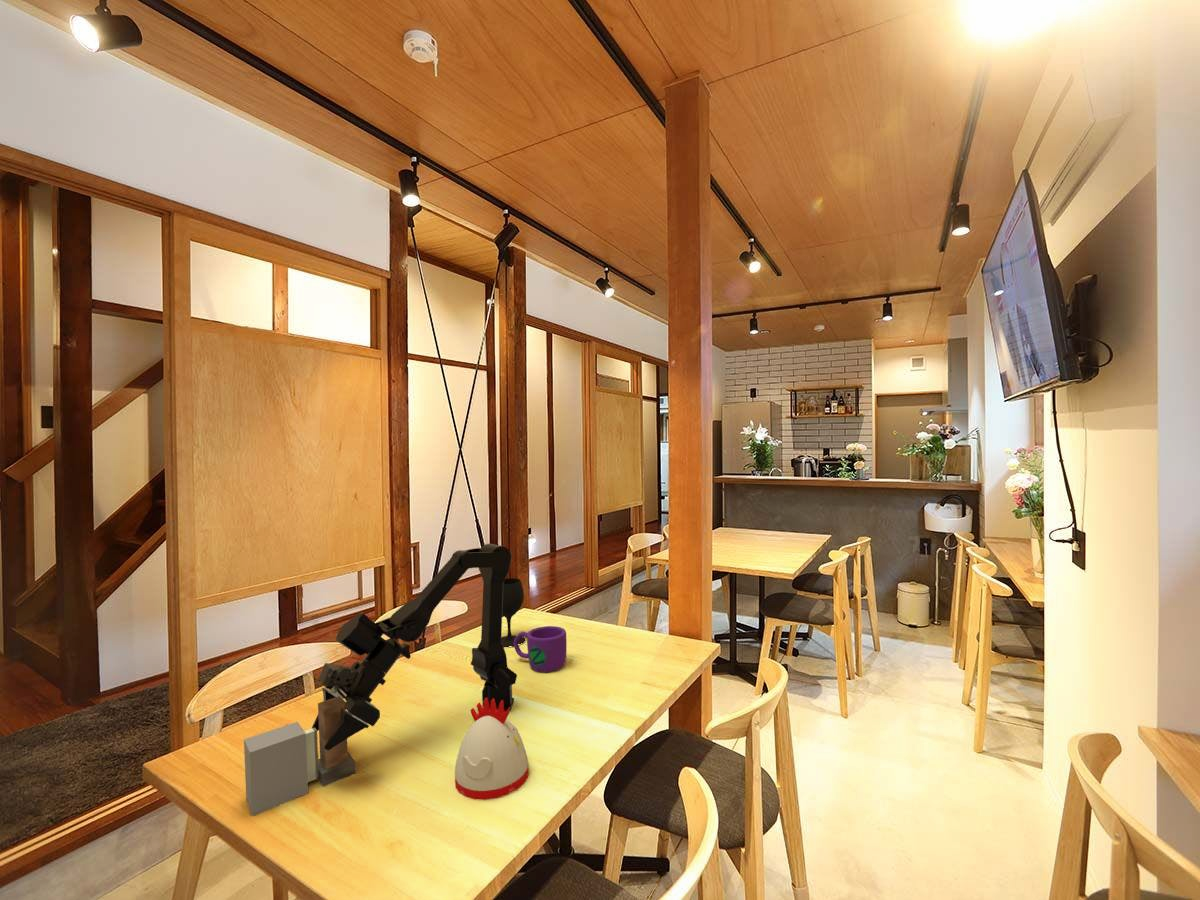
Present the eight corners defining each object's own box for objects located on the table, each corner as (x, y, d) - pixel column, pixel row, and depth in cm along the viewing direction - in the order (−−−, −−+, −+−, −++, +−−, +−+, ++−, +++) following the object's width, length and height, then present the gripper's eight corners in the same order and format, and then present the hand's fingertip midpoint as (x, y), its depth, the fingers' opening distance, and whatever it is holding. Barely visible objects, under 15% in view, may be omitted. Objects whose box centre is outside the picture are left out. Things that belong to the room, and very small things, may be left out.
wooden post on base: (345, 761, 110) (343, 693, 110) (355, 773, 105) (352, 702, 105) (313, 773, 106) (310, 703, 106) (322, 787, 101) (319, 713, 101)
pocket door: (316, 774, 104) (314, 727, 104) (318, 777, 103) (317, 730, 103) (269, 793, 99) (267, 743, 99) (271, 796, 98) (269, 746, 98)
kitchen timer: (509, 805, 94) (505, 720, 94) (440, 794, 98) (437, 712, 98) (539, 760, 108) (536, 685, 108) (477, 752, 111) (474, 680, 111)
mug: (574, 661, 157) (573, 628, 157) (554, 677, 147) (552, 641, 147) (525, 654, 165) (524, 621, 165) (503, 668, 155) (501, 633, 155)
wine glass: (511, 649, 169) (508, 586, 169) (486, 644, 174) (484, 583, 174) (532, 639, 177) (529, 579, 177) (508, 634, 183) (506, 576, 183)
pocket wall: (299, 778, 104) (297, 721, 104) (307, 793, 100) (305, 733, 100) (246, 799, 98) (243, 739, 98) (252, 816, 94) (249, 752, 94)
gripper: (331, 636, 114) (274, 705, 107) (360, 659, 101) (297, 740, 93) (370, 661, 120) (318, 729, 112) (403, 687, 106) (346, 766, 98)
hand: (319, 740), depth 104 cm, fingers open, 9 cm apart
